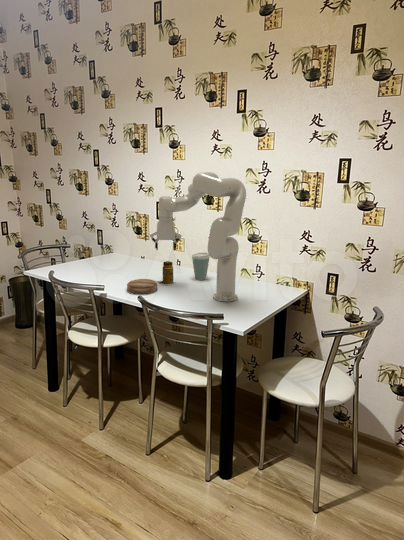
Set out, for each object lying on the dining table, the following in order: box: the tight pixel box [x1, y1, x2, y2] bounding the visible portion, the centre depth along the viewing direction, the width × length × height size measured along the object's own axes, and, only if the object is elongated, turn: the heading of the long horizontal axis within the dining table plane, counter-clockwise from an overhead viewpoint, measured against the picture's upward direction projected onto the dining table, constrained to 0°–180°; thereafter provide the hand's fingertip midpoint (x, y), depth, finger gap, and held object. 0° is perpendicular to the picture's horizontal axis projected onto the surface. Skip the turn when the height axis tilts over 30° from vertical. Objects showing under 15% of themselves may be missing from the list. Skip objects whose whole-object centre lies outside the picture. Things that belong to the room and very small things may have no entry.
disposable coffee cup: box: [191, 252, 211, 281], centre depth 252 cm, size 11×11×15 cm
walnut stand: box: [126, 278, 158, 295], centre depth 230 cm, size 16×16×4 cm
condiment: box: [157, 261, 176, 286], centre depth 243 cm, size 7×8×12 cm
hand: (165, 249), depth 240 cm, fingers open, 9 cm apart
